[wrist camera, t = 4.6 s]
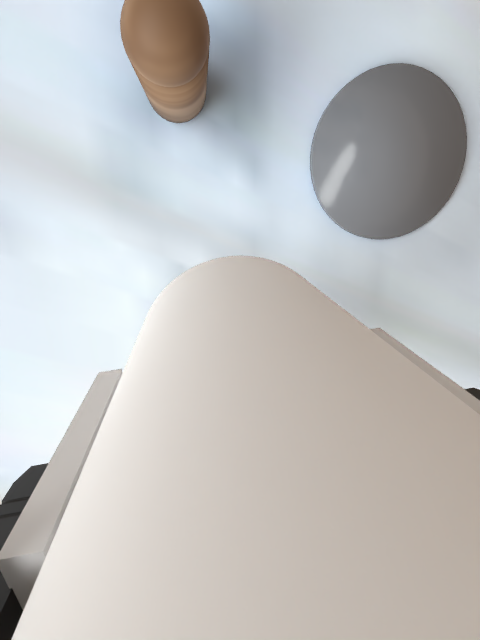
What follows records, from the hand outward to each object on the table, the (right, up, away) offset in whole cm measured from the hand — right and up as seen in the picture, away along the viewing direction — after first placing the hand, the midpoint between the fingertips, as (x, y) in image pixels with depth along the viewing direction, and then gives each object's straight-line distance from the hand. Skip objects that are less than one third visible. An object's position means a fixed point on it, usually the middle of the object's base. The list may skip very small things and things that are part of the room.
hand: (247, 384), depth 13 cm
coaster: (+11, +15, +15) cm, 23 cm away
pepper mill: (-5, +18, +12) cm, 22 cm away
